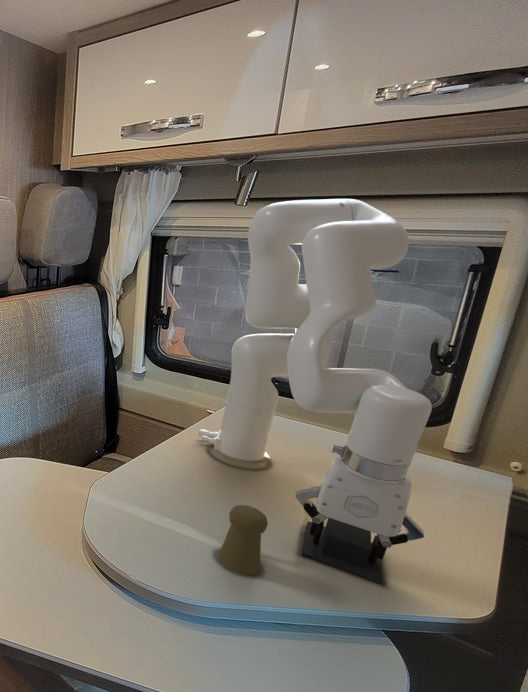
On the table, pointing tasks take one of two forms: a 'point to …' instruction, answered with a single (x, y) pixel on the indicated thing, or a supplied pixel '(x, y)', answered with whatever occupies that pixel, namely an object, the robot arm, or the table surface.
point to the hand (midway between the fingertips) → (342, 547)
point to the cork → (243, 540)
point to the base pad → (314, 553)
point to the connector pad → (346, 542)
